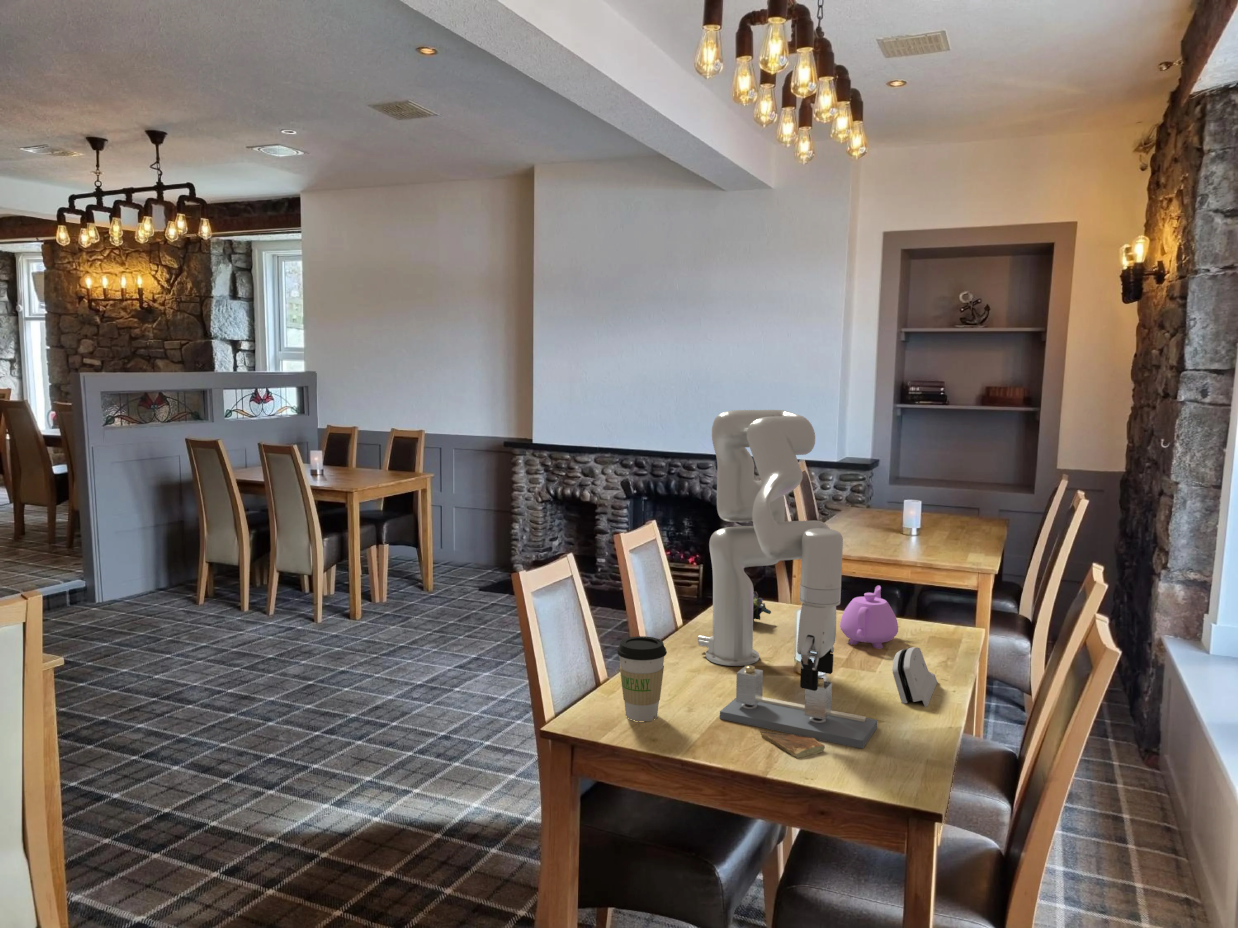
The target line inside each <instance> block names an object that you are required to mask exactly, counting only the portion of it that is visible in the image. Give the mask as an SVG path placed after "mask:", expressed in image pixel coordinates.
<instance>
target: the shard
mask: <svg viewBox="0 0 1238 928" xmlns="http://www.w3.org/2000/svg"><path fill="white" fill-rule="evenodd" d="M759 733H760V735H761V738H762V739H764V740H765V741H768V742H769V743H771V744H774V745H776V746H777V747H779V748H781V749H782V750H784V751H786V753H788V754H789V755H791V756H792V757H793V758H796V759H800V758H803V757H807V756H810V755H815V754H821V753H823V751H824V750H825V748H826V746H825V744H823V743H822V742H819V740H818V739H815V738H812V737H807V736H800V735H795V734H790V733H783V732H781V733H780V732H767V731H761V730H759Z"/></svg>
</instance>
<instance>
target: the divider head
mask: <svg viewBox="0 0 1238 928" xmlns="http://www.w3.org/2000/svg"><path fill="white" fill-rule="evenodd" d="M832 688H833V683H832V682H831V681H826V680H825V678H824V677H820V676H818V689H817V690H816V691H813V690H808V689H804V705H805V715H804V716H809V717H814V718H819V719H824V720H825V719H826V718H827V717H828V716H829V715H830V713H831V710H832V697H833V696H832V695H833V694H832V693H833V690H832Z"/></svg>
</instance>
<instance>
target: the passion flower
mask: <svg viewBox="0 0 1238 928" xmlns="http://www.w3.org/2000/svg"><path fill="white" fill-rule="evenodd" d="M762 613H765V614H767V615H770V614H772V611H771V610H770V609H768V608H767V607H766V603H765V602H764V599H763V598H762V597H759V594H758V592H757V591H753V622H754V620H759V621H760V620H761V618H762V617H761V614H762Z"/></svg>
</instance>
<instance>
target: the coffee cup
mask: <svg viewBox="0 0 1238 928" xmlns="http://www.w3.org/2000/svg"><path fill="white" fill-rule="evenodd" d="M667 653H668V652H667V648H666V647H665V644H664V642H663V640H662V639H661V638H660V639H659V638H657V637H654V636H653V637H652V636H642V635H641V636H630V637H626V638H624V639H622V640H621V641H620V644H619V645H618V648H617V649H616V654H617V655H618V656H619V657H618V658H619V671H620V678H621V679H620V680H621V682H620V683H621V687H622V695H623V696H622V697H623V702H624V709H625V710H624V711H625V717H626V716H627V718H629V719H632V720H635V721H650V722H653V721H655V720H656V719H657V718H658V713H659V712H658V711H659V703H660V700H661V693H662V685H663V677H664V671H665V669H664V668H665V666H664V662H665V661H664V660H665V657H666V656H667ZM627 718H626V719H627ZM629 719H628V720H629ZM654 719H655V720H654ZM652 720H653V721H652Z"/></svg>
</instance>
